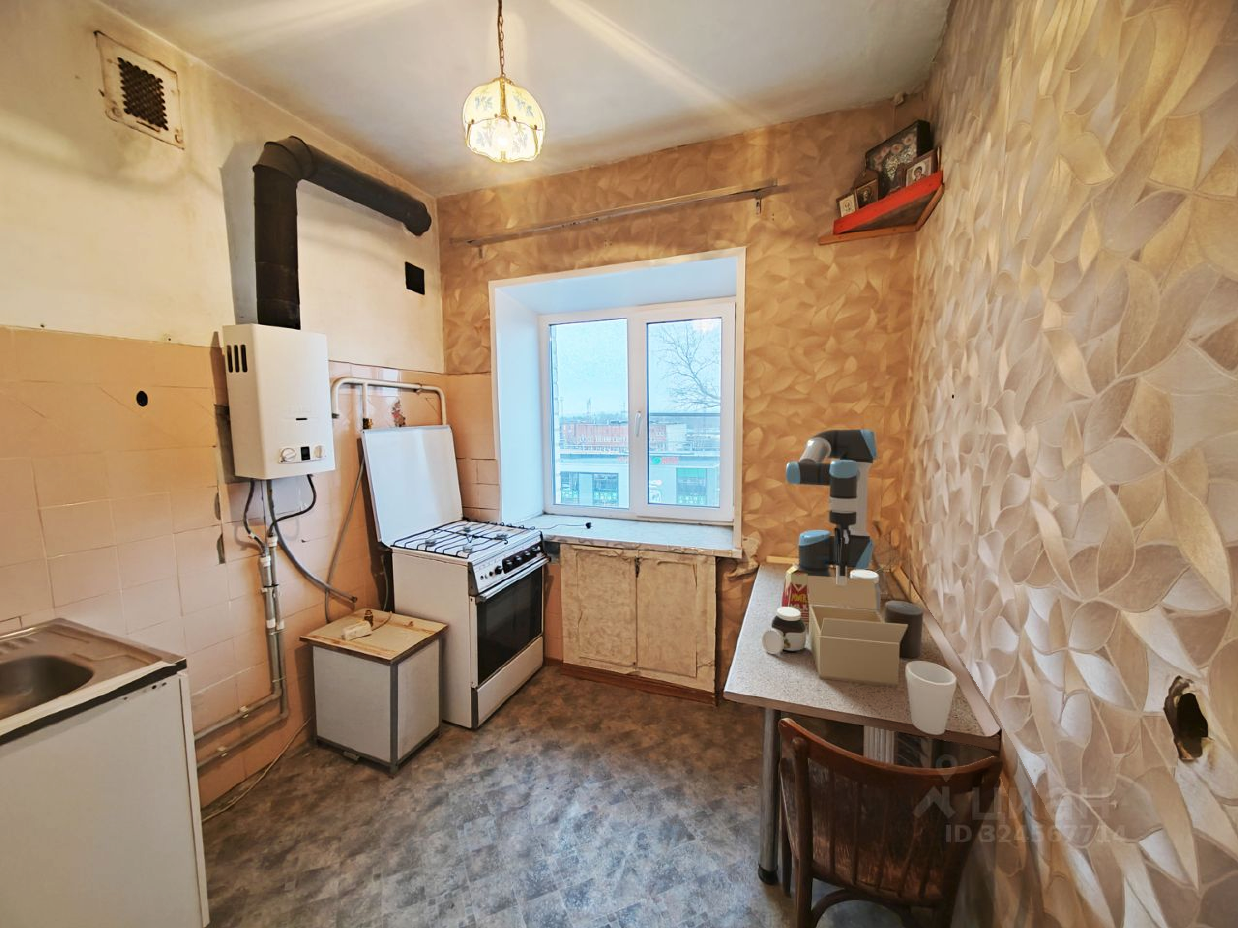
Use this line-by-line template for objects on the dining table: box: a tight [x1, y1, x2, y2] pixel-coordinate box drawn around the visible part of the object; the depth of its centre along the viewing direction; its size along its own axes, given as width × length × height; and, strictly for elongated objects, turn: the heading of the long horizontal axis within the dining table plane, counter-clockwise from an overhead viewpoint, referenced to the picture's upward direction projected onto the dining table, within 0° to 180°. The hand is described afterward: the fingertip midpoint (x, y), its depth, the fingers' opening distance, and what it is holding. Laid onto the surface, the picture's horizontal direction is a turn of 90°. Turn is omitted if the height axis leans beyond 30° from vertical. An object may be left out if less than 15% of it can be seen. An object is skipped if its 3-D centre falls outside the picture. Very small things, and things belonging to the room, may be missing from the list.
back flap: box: [808, 576, 877, 609], centre depth 139 cm, size 9×19×1 cm
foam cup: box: [904, 660, 958, 735], centre depth 103 cm, size 10×9×13 cm
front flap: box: [820, 618, 908, 643], centre depth 116 cm, size 9×19×1 cm
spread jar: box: [761, 606, 807, 655], centre depth 137 cm, size 12×11×12 cm
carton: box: [808, 604, 900, 688], centre depth 129 cm, size 20×19×12 cm
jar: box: [846, 569, 882, 615], centre depth 150 cm, size 10×10×18 cm
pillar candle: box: [883, 600, 924, 660], centre depth 134 cm, size 10×10×15 cm
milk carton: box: [780, 562, 810, 626], centre depth 156 cm, size 9×9×20 cm
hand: (841, 584), depth 140 cm, fingers closed
